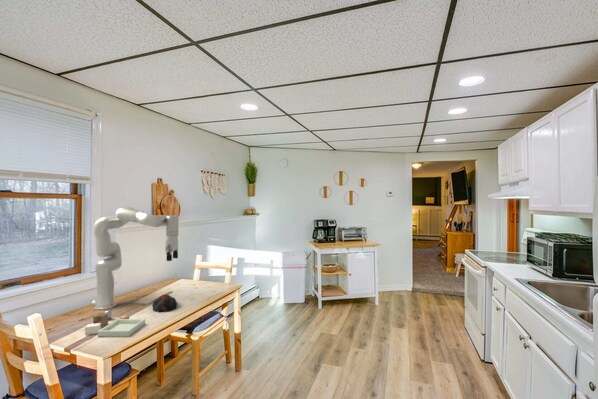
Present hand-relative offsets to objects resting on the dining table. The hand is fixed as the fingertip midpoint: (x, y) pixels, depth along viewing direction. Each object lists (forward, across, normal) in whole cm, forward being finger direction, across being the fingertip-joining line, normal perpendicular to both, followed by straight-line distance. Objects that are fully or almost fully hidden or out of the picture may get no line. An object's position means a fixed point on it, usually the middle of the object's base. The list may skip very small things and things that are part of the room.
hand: (172, 259), depth 198 cm
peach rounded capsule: (+31, +24, -17) cm, 43 cm away
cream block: (+31, +39, -26) cm, 56 cm away
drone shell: (+32, 0, -5) cm, 32 cm away
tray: (+31, +37, -12) cm, 49 cm away
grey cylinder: (+31, +21, -29) cm, 48 cm away
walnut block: (+31, +30, -28) cm, 52 cm away
